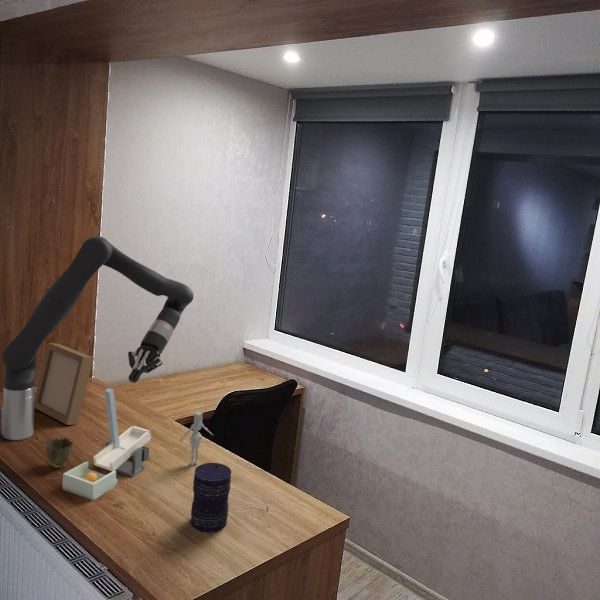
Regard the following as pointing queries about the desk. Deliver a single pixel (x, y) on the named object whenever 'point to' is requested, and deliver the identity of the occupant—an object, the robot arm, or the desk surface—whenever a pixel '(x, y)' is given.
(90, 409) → the desk surface
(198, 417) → the human figurine
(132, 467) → the stand
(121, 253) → the robot arm
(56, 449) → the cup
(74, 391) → the photo frame
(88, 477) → the ball
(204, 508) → the dark blue ridged cylinder
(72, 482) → the tray
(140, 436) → the lever
